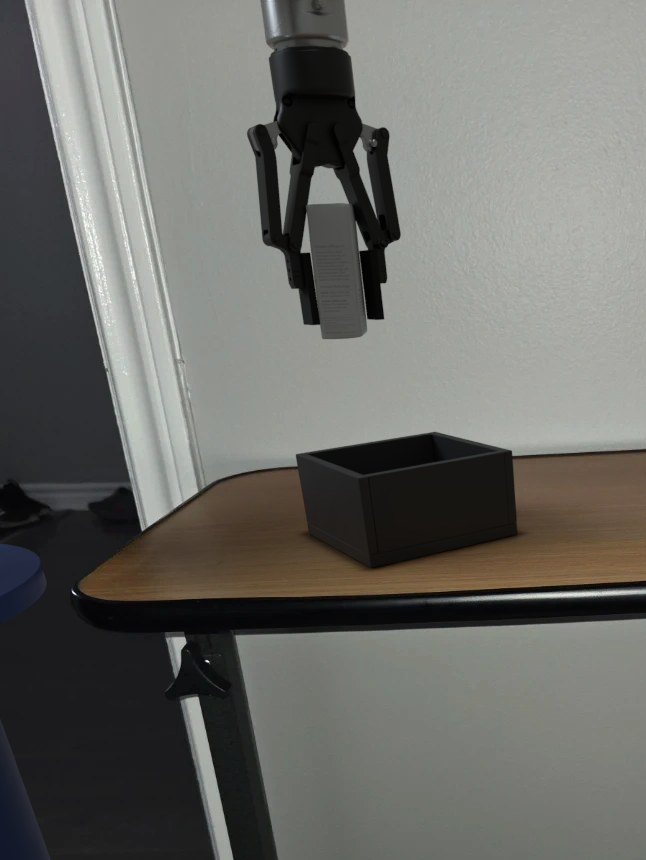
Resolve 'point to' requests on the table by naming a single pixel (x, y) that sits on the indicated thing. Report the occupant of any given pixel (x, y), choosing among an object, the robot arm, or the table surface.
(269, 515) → the table surface
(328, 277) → the cosmetic box
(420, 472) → the basket
